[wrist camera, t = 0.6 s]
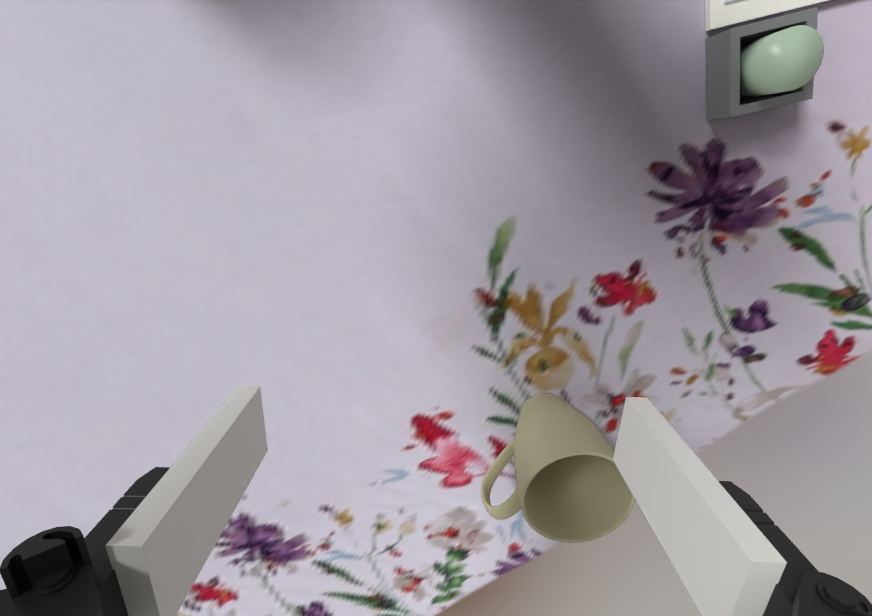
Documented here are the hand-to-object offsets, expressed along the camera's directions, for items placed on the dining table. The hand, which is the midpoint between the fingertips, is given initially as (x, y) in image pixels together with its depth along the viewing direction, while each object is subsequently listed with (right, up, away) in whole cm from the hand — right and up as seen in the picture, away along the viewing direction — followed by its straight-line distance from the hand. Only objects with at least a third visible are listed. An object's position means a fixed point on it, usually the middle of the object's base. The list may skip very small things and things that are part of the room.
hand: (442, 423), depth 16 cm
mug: (+10, -7, +30) cm, 33 cm away
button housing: (+24, +23, +19) cm, 38 cm away
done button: (+24, +23, +17) cm, 37 cm away
